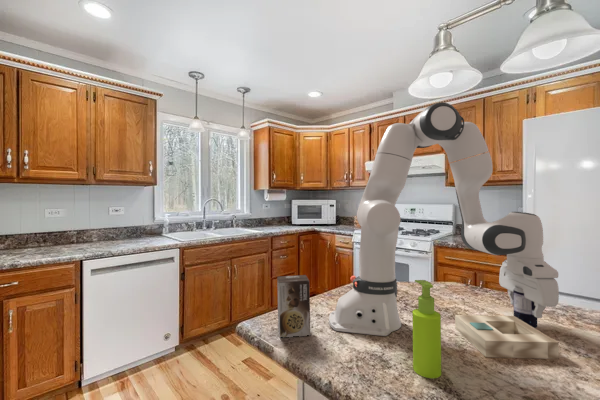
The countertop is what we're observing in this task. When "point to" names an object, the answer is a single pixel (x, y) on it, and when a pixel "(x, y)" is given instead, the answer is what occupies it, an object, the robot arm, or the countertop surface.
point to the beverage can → (523, 307)
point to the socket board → (506, 337)
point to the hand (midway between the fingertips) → (525, 310)
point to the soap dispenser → (426, 335)
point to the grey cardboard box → (293, 306)
